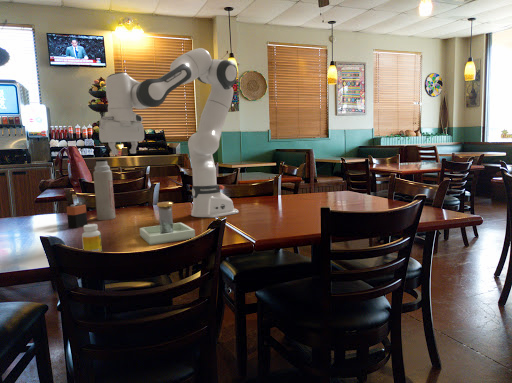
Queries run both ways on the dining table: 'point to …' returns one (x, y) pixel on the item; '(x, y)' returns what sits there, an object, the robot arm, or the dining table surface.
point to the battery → (76, 215)
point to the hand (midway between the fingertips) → (124, 154)
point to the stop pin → (165, 217)
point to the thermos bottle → (104, 190)
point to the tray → (166, 234)
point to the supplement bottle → (91, 238)
